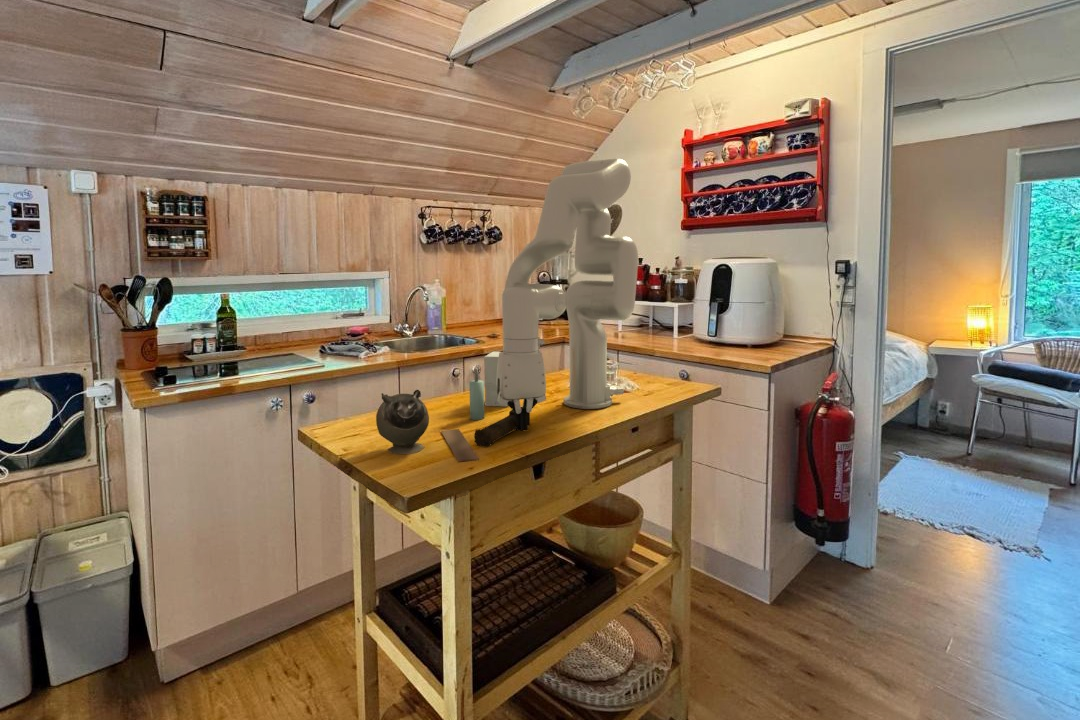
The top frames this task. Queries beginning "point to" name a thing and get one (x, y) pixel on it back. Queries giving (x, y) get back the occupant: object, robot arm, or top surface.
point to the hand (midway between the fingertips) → (522, 429)
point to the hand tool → (495, 430)
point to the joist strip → (459, 445)
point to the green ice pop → (476, 398)
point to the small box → (491, 379)
